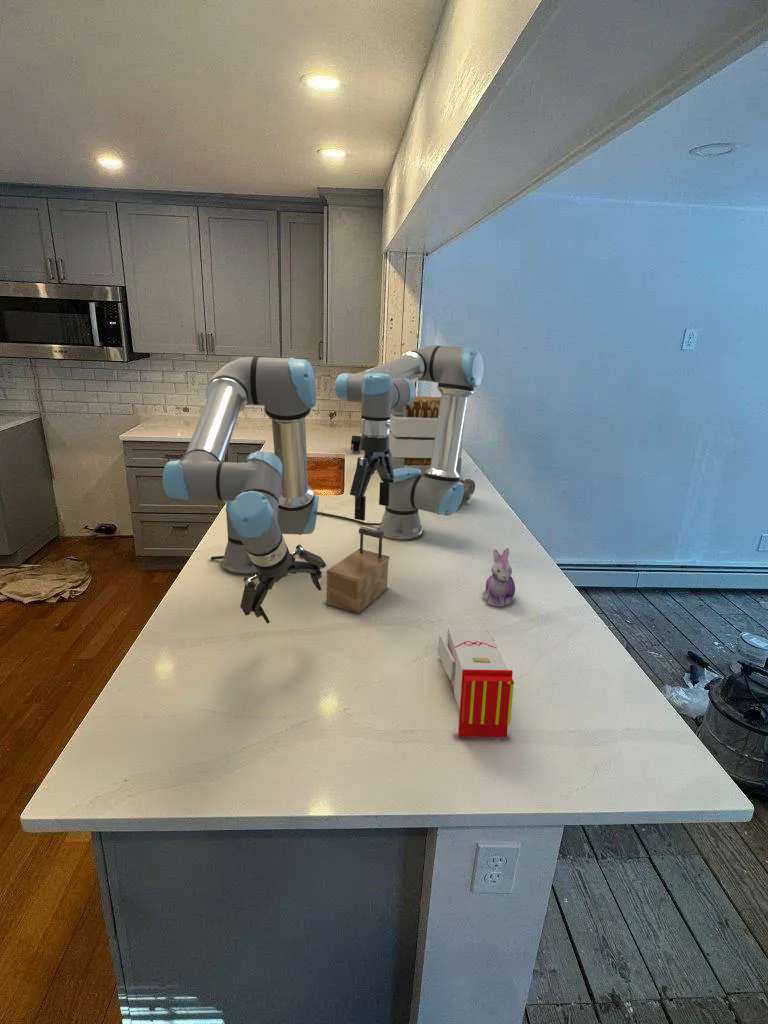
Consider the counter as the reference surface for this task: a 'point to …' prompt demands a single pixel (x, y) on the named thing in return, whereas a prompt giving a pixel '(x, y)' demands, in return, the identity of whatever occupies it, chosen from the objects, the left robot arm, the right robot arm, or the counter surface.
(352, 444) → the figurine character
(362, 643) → the counter surface
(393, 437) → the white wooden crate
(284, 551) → the left robot arm
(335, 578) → the chest
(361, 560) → the lid
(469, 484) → the fossil
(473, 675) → the toy
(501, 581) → the figurine
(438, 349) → the right robot arm
